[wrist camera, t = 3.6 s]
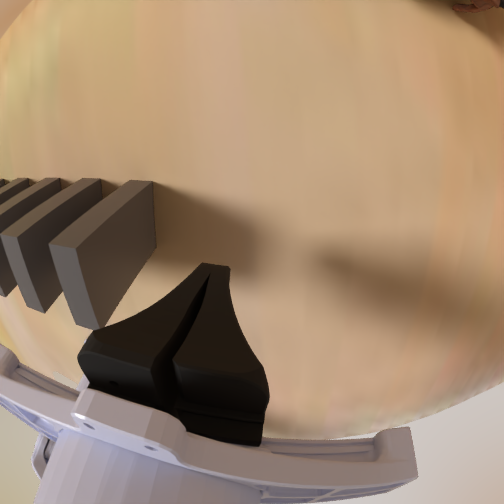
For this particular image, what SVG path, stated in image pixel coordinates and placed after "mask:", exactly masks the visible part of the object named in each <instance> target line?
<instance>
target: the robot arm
mask: <svg viewBox="0 0 504 504" xmlns="http://www.w3.org/2000/svg"><path fill="white" fill-rule="evenodd" d="M229 281H230V268H229V267H228V266H222V265H215V264H208V263H201V264H200V265H199V266H198V267H197V268H196V269H195V270H194V271H193V272H192V273H191V274H190V275H189V276H188V277H187V278H186V279H185V280H184V281H183V282H181V283H180V284H179V285H178V286H177V287H176V288H175V289H173V290H172V291H171V292H170V293H168V294H167V295H166V296H165V297H163V298H162V299H161V300H159V301H158V302H156V303H155V304H153V305H152V306H150V307H149V308H147V309H145V310H143V311H141V312H139V313H138V314H136V315H134V316H132V317H130V318H127V319H125V320H123V321H120V322H118V323H115V324H113V325H110V326H106V327H103V328H100V329H97V330H93V332H92V333H91V334H90V336H89V337H88V339H85V341H84V343H85V344H84V345H83V347H82V349H81V350H80V352H79V354H78V356H77V359H78V363H79V365H80V367H81V369H82V371H83V373H84V374H83V376H82V378H81V380H80V382H79V384H78V386H77V388H76V389H75V390H74V389H72V388H70V387H68V386H65V385H63V384H61V383H59V382H57V381H55V380H53V379H51V378H49V377H47V376H45V375H43V374H41V373H39V372H37V371H35V370H33V369H31V368H29V367H27V366H26V365H24V364H22V363H20V362H19V360H18V358H17V356H16V355H15V354H14V353H13V352H12V351H11V350H10V349H8V348H6V347H5V346H3V345H1V344H0V405H1V406H3V407H4V408H5V409H6V410H8V411H9V412H11V413H12V414H13V415H15V416H16V417H17V418H19V419H20V420H22V421H23V422H25V423H26V424H27V425H29V426H30V427H32V428H34V429H35V430H36V431H38V432H39V435H38V438H37V440H36V444H35V449H34V452H33V455H32V457H31V461H32V467H33V469H34V471H35V473H36V474H37V476H38V477H39V479H40V481H41V482H40V485H39V488H38V491H37V494H36V497H35V500H34V503H33V504H297V503H298V504H299V503H315V502H327V501H336V500H343V499H351V498H358V497H364V496H371V495H376V494H382V493H387V492H389V491H391V490H394V489H396V488H398V487H401V486H403V485H405V484H407V483H409V482H411V481H413V480H415V479H417V478H418V472H417V465H416V458H415V453H414V447H413V441H412V436H411V431H410V428H409V427H401V428H392V429H386V430H383V431H380V432H379V433H377V434H376V436H375V437H374V438H363V439H346V440H298V439H279V438H266V437H262V432H263V424H264V418H265V411H266V408H267V405H268V403H269V398H270V395H269V386H268V382H267V378H266V374H265V371H264V368H263V366H262V364H261V363H260V362H259V360H258V359H257V357H256V356H255V354H254V353H253V351H252V349H251V348H250V346H249V344H248V342H247V340H246V338H245V337H244V335H243V333H242V330H241V328H240V326H239V323H238V320H237V318H236V315H235V312H234V308H233V304H232V300H231V295H230V289H229Z"/></svg>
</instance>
